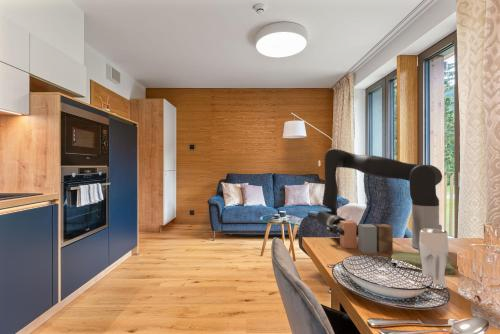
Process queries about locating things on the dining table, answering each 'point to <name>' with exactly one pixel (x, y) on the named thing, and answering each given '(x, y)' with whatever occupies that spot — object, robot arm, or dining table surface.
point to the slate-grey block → (367, 238)
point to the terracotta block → (348, 234)
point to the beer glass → (433, 253)
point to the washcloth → (418, 260)
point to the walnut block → (384, 238)
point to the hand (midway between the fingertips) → (350, 232)
